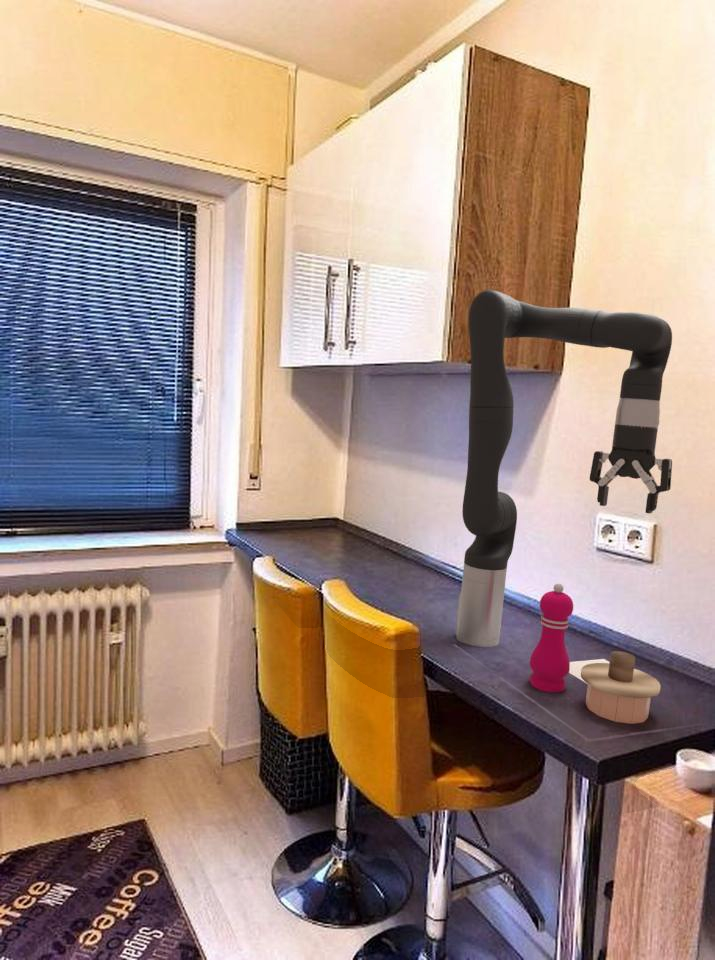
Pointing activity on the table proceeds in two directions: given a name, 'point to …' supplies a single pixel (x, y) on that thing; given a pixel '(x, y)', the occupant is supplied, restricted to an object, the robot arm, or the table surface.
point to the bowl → (617, 706)
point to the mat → (577, 666)
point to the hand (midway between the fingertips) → (625, 509)
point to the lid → (620, 677)
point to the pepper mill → (552, 642)
